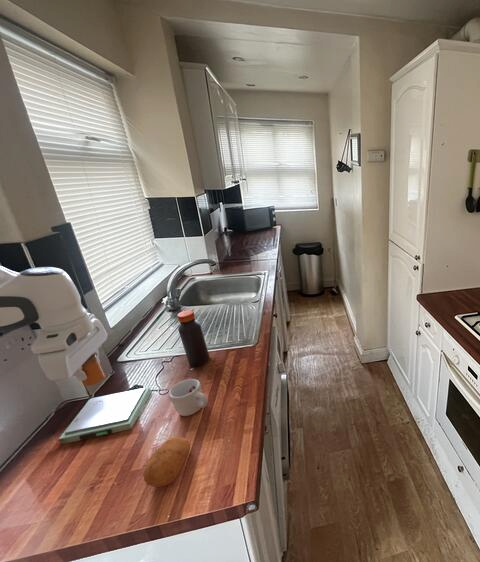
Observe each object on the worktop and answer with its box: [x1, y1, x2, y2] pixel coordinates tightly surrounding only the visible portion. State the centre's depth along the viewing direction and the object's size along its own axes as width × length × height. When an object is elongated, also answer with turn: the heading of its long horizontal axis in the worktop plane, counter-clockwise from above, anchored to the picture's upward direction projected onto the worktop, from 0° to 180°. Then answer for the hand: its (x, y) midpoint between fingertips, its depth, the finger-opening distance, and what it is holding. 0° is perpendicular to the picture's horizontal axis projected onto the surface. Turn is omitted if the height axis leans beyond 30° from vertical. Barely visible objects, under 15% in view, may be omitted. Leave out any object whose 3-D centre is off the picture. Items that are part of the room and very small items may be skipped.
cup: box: [167, 378, 209, 417], centre depth 89 cm, size 11×8×8 cm
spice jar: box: [81, 354, 106, 387], centre depth 83 cm, size 5×5×7 cm
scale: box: [58, 387, 152, 445], centre depth 89 cm, size 16×16×3 cm
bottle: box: [176, 309, 211, 368], centre depth 109 cm, size 7×7×20 cm
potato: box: [143, 436, 191, 488], centre depth 72 cm, size 7×13×7 cm, turn 8°
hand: (90, 371), depth 83 cm, fingers closed on spice jar, 4 cm apart
